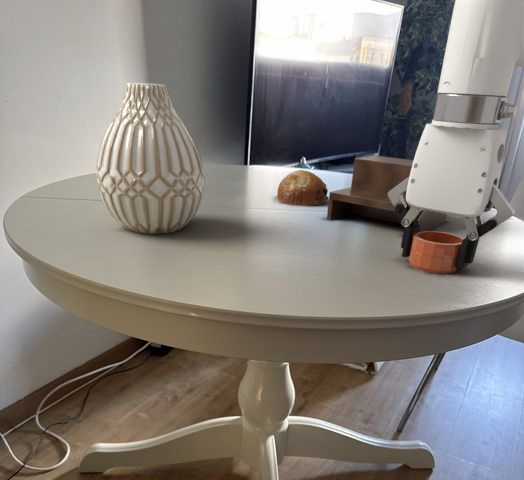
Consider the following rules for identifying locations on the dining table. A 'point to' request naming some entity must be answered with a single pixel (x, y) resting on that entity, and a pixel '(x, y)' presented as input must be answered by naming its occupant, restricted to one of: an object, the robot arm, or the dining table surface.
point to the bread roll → (302, 189)
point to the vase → (149, 164)
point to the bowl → (435, 251)
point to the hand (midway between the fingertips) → (434, 260)
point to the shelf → (377, 192)
